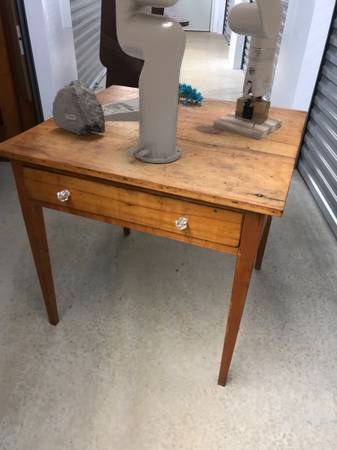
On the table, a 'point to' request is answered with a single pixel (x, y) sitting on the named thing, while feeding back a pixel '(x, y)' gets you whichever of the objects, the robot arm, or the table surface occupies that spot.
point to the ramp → (122, 110)
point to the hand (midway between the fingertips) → (251, 115)
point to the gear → (189, 94)
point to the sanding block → (259, 110)
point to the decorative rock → (78, 109)
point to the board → (247, 126)
